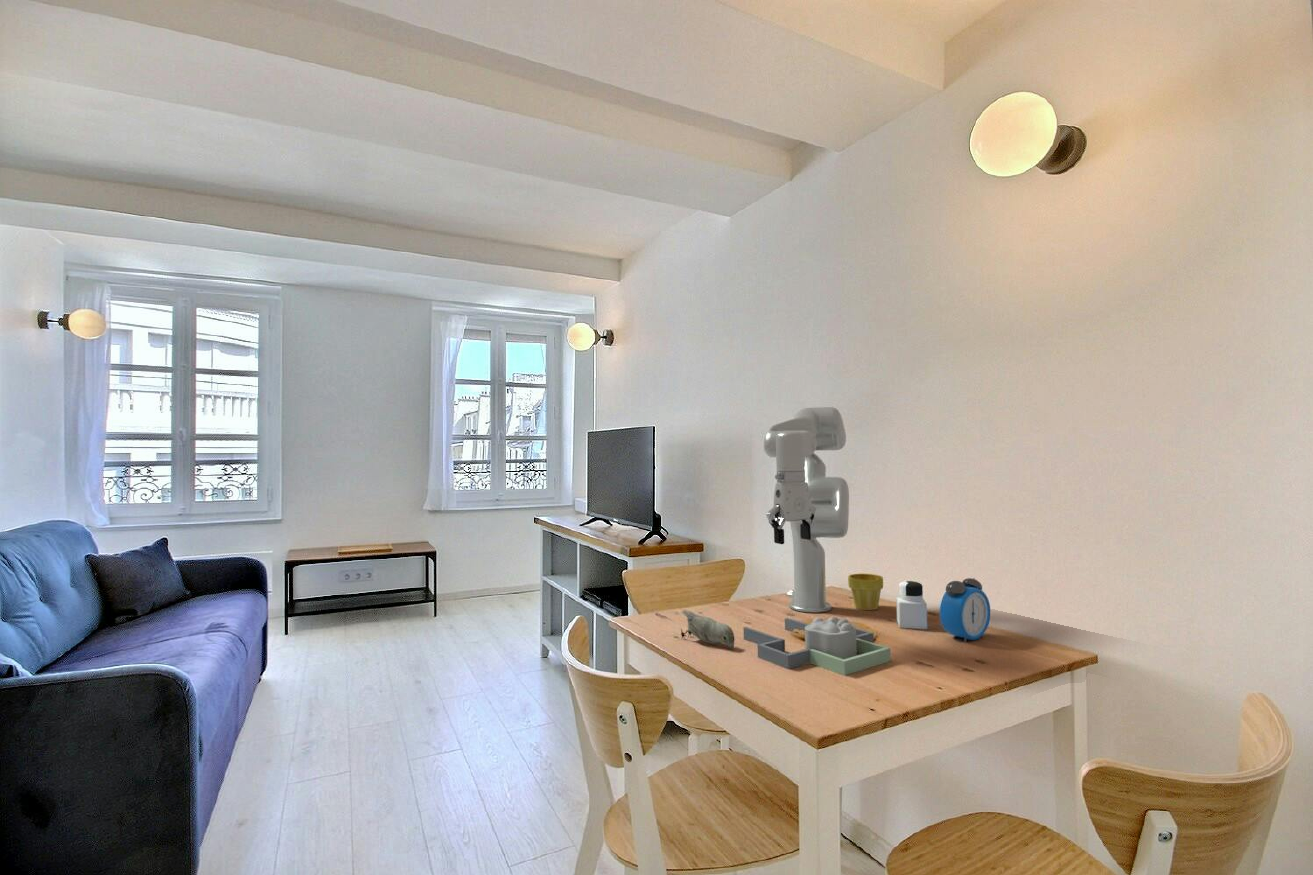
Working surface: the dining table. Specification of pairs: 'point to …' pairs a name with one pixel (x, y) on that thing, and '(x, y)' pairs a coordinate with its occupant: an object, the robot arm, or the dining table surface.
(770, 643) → the lane box
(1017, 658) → the dining table surface
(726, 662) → the dining table surface
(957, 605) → the alarm clock
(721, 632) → the decorative bird
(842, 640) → the lumpy-topped squat cylinder
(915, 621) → the medicine bottle
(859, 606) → the plant pot
